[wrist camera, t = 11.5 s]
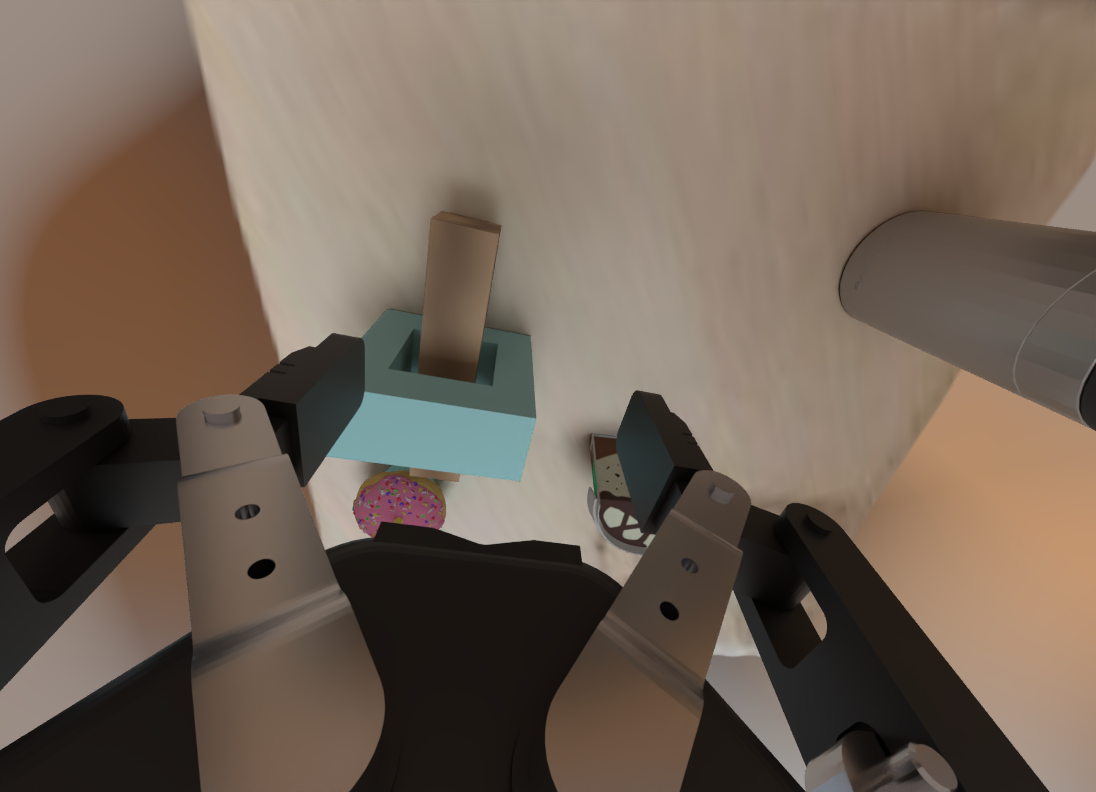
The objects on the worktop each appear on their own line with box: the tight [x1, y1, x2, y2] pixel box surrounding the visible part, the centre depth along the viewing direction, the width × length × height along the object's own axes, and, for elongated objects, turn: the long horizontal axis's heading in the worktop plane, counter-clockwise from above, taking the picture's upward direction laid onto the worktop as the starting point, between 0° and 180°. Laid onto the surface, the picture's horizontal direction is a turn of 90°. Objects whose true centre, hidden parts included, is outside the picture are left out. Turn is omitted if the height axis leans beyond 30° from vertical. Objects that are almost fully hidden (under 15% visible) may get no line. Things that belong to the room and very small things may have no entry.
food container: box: [587, 433, 655, 556], centre depth 38 cm, size 12×6×10 cm, turn 79°
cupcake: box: [352, 465, 446, 538], centre depth 37 cm, size 9×8×12 cm
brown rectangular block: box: [409, 211, 501, 482], centre depth 30 cm, size 4×20×4 cm, turn 166°
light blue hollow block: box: [326, 309, 536, 481], centre depth 29 cm, size 12×5×13 cm, turn 77°
